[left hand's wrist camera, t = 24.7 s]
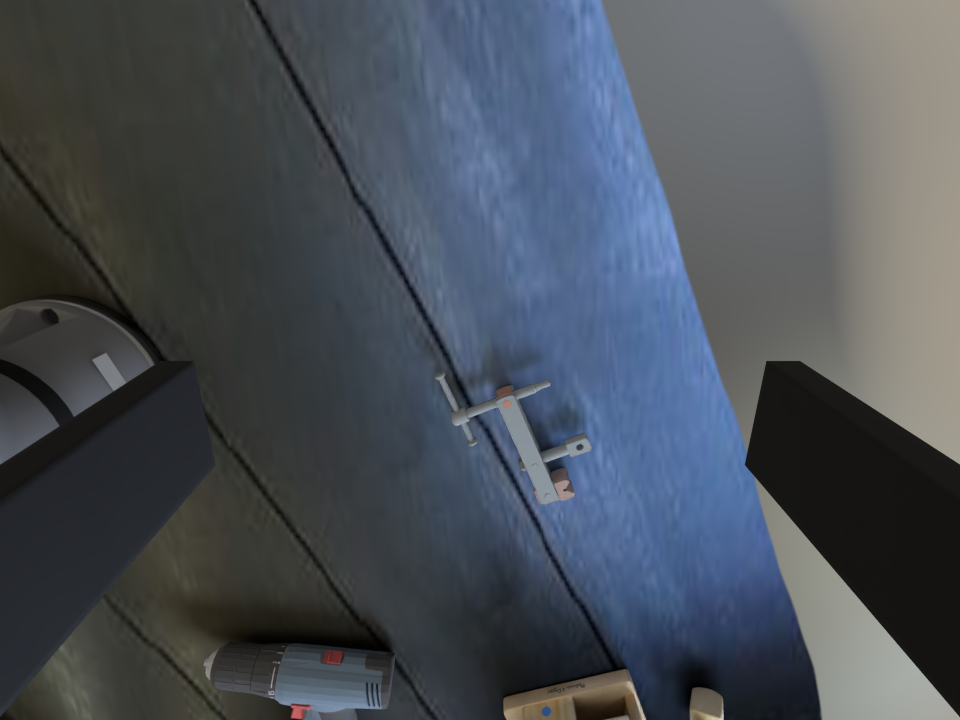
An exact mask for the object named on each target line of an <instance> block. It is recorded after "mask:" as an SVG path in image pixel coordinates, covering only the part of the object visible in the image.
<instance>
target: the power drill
mask: <svg viewBox="0 0 960 720" xmlns="http://www.w3.org/2000/svg"><path fill="white" fill-rule="evenodd" d="M394 663H395V653H391V652H382V651H380V652H379V651H371V650H362V649H352V648H342V647H332V646H322V645H312V644H302V643H292V644H287V643H274V644H256V643H249V642H247V643H243V642H229V643H228V644H226V645H224V646H223V647H221V648H219V649H218V650H216V651H214V652H213V653H212V654H211V656H210V657H208V659H206V660H205V662H204V666H205V668H204V669H206V676H207V677H208V678H209V680H210V681H211V682H212V684H213V685H214V686H215V688H217V689H221V690H228V691H235V692H245V693H251V694H255V695H259V696H263V697H267V698H274V699H276V701H278V702H279V703H280V704H283V705H289V706H291V707H292V708H293V710H292V713H291V718H295V719H302V720H358V719H357V714H356V711H355V708H362V709H386V708H388V704H389V697H390V692H391V685H392V678H393V671H394Z"/></svg>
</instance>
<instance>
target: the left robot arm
mask: <svg viewBox="0 0 960 720" xmlns="http://www.w3.org/2000/svg"><path fill="white" fill-rule="evenodd" d="M214 466H215V462H214V457H213V452H212V448H211V443H210V438H209V433H208V428H207V424H206V419H205V414H204V409H203V404H202V400H201V395H200V390H199V385H198V380H197V376H196V371H195V366H194V361H163V360H162V358H161V356H160V355H159V353H158V352H157V350H156V349H155V347H154V346H153V345H152V343H151V342H150V341H149V340H148V339H147V338H146V336H145V335H144V334H143V333H142V332H141V331H140V330H139V329H137V328H136V327H135V326H134V325H133V324H132V323H130V322H129V321H128V320H126V319H125V318H123V317H122V316H120V315H119V314H117V313H116V312H114V311H112V310H110V309H108V308H106V307H104V306H102V305H100V304H97V303H94V302H92V301H88V300H85V299H81V298H76V297H71V296H62V295H51V296H41V297H36V298H32V299H29V300H26V301H23V302H20V303H16V304H13V305H10V306H8V307H6V308H4V309H2V310H0V717H1V715H2V714H3V713H4V712H5V711H6V710H7V708H8V707H9V706H10V705H11V704H12V702H13V701H14V700H15V699H16V698H17V697H18V695H19V694H20V693H21V692H22V691H23V690H24V688H25V687H26V686H27V685H28V684H29V683H30V681H31V680H32V679H33V678H34V677H35V676H36V674H37V673H38V672H39V671H40V670H41V668H42V667H43V666H44V665H45V664H46V663H47V661H48V660H49V659H50V658H51V657H52V656H53V654H54V653H55V652H56V651H57V650H58V649H59V647H60V646H61V645H62V644H63V643H64V641H65V640H66V639H67V638H68V637H69V636H70V634H71V633H72V632H73V631H74V630H75V629H76V627H77V626H78V625H79V624H80V623H81V622H82V620H83V619H84V618H85V617H86V616H87V615H88V613H89V612H90V611H91V610H92V609H93V607H94V606H95V605H96V604H97V603H98V602H99V600H100V599H101V598H102V597H103V596H104V595H105V593H106V592H107V591H108V590H109V589H110V588H111V586H112V585H113V584H114V583H115V582H116V581H117V579H118V578H119V577H120V576H121V575H122V573H123V572H124V571H125V570H126V569H127V568H128V566H129V565H130V564H131V563H132V562H133V561H134V559H135V558H136V557H137V556H138V555H139V554H140V552H141V551H142V550H143V549H144V548H145V546H146V545H147V544H148V543H149V542H150V541H151V539H152V538H153V537H154V536H155V535H156V534H157V532H158V531H159V530H160V529H161V528H162V527H163V525H164V524H165V523H166V522H167V521H168V520H169V518H170V517H171V516H172V515H173V514H174V512H175V511H176V510H177V509H178V508H179V507H180V505H181V504H182V503H183V502H184V501H185V500H186V498H187V497H188V496H189V495H190V494H191V493H192V491H193V490H194V489H195V488H196V487H197V486H198V484H199V483H200V482H201V481H202V480H203V478H204V477H205V476H206V475H207V474H208V473H209V471H210V470H211V469H212V468H213V467H214ZM745 466H746V467H747V468H748V469H749V470H750V471H751V473H752V474H753V475H754V476H755V477H756V478H757V480H758V481H759V482H760V483H761V484H762V485H763V487H764V488H765V489H766V490H767V491H768V493H769V494H770V495H771V496H772V497H773V498H774V500H775V501H776V502H777V503H778V504H779V505H780V507H781V508H782V509H783V510H784V511H785V512H786V514H787V515H788V516H789V517H790V518H791V520H792V521H793V522H794V523H795V524H796V525H797V527H798V528H799V529H800V530H801V531H802V532H803V534H804V535H805V536H806V537H807V538H808V539H809V541H810V542H811V543H812V544H813V545H814V547H815V548H816V549H817V550H818V551H819V552H820V554H821V555H822V556H823V557H824V558H825V559H826V561H827V562H828V563H829V564H830V565H831V566H832V568H833V569H834V570H835V571H836V572H837V573H838V575H839V576H840V577H841V578H842V579H843V581H844V582H845V583H846V584H847V585H848V586H849V587H850V589H851V590H852V591H853V592H854V593H855V595H856V596H857V597H858V598H859V599H860V600H861V602H862V603H863V604H864V605H865V606H866V607H867V609H868V610H869V611H870V612H871V613H872V615H873V616H874V617H875V618H876V619H877V620H878V622H879V623H880V624H881V625H882V626H883V627H884V629H885V630H886V631H887V632H888V633H889V634H890V636H891V637H892V638H893V639H894V640H895V641H896V643H897V644H898V645H899V646H900V647H901V649H902V650H903V651H904V652H905V653H906V654H907V656H908V657H909V658H910V659H911V660H912V661H913V663H914V664H915V665H916V666H917V667H918V668H919V670H920V671H921V672H922V673H923V674H924V675H925V677H926V678H927V679H928V680H929V681H930V683H931V684H932V685H933V686H934V687H935V688H936V690H937V691H938V692H939V693H940V694H941V695H942V697H943V698H944V699H945V700H946V701H947V702H948V704H949V705H950V706H951V707H952V708H953V709H954V711H955V712H956V713H957V714H958V715H959V717H960V464H958V463H957V462H955V461H954V460H952V459H950V458H949V457H947V456H946V455H944V454H943V453H941V452H940V451H938V450H936V449H935V448H933V447H932V446H930V445H929V444H927V443H926V442H924V441H923V440H921V439H919V438H918V437H916V436H915V435H913V434H912V433H910V432H909V431H907V430H906V429H904V428H902V427H901V426H899V425H898V424H896V423H895V422H893V421H892V420H890V419H889V418H887V417H885V416H884V415H882V414H881V413H879V412H878V411H876V410H875V409H873V408H872V407H870V406H868V405H867V404H865V403H864V402H862V401H861V400H859V399H858V398H856V397H855V396H853V395H851V394H850V393H848V392H847V391H845V390H844V389H842V388H841V387H839V386H838V385H836V384H834V383H833V382H831V381H830V380H828V379H827V378H825V377H824V376H822V375H821V374H819V373H817V372H816V371H814V370H813V369H811V368H810V367H808V366H807V365H805V364H804V363H802V362H800V361H766V366H765V371H764V376H763V380H762V385H761V390H760V395H759V400H758V404H757V409H756V414H755V419H754V424H753V428H752V433H751V438H750V443H749V448H748V452H747V457H746V462H745Z"/></svg>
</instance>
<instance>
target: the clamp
mask: <svg viewBox="0 0 960 720" xmlns="http://www.w3.org/2000/svg"><path fill="white" fill-rule="evenodd" d="M444 376H445V372H443V371H442V372H438V373H437V374H435V376H434V378H435V379H436V380H439V382H440V384H441V386H442V388H443V390H444V392H445V394H446V396H447V398H448V400H449V402H450V404H451V406H452V408H453V410H454V411H452V412H451V413H450V417H451V420H452V422H453V424H454V425H456V426H458V425H460V424H461V426H462V428H463V430H464V432H465V435H466V437H467V439H468V442H467V444H468V446H473V445H475V444H476V443H477V442H478V439H477V438H474V437H473V435H472V433H471V431H470V429H469V427H468V425H467V423H466V422H468V421H470V417H473V416H476V415H478V414H481V413H483V412H486V411H489V410H491V409H494V408H497V407H498V408H499V410H500V412H501V415H502V417H503V419H504V421H505V423H506V426H507V428H508V430H509V432H510V434H511V437H512V439H513V441H514V443H515V445H516V448H517V450H518V452H519V454H520V456H521V458H520V459H519V460H518V461H519V465H520V467H521V470H522V471H523V472H525V471H527V472H528V474H529V476H530V478H531V481H532V483H533V486H534V493H535V495H536V497H537V499H538V501H539V503H541V504H544V505H545V504H548V503H551V502H554V501H557V500H560V499H561V501H564V500H566V499H569V498H572V497H573V496H574V490H573V486H572V483H571V481H570V480H569V478H568V475H567V471H566V469H564V468H560V469H557V470H554V471H551V472H552V474H551V473H550V471H549V468H548V466H547V464H546V462H548V461H551V460H554V459H557V458H560V457H562V456H565V455H568V454H570V456H571V457H574V456H577V455H580V454H582V453H585V452H588V451H591V445H590V443H589V440H588V437H587V436H586V434H585V433H581V434H579V435H576V436H573V437H570V438H568V439H565V440H564V441H565V444H562V445H559V446H557V447H554V448H551V449H548V450H546V451H543V452H541V450H540V448H539V445H538V443H537V441H536V439H535V436H534V434H533V432H532V429H531V427H530V425H529V423H528V420H527V418H526V416H525V413H524V411H523V409H522V407H521V404H520V402H519V400H518V399H520V398H523V397H526V396H528V395H531V394H534V393H536V391H539V390H540V389H542V388H545V387H548V386H550V382H549V380H546V381H543V382H541V383H538V384H537V383H536V384H534V385H533V384H531V385H528V386H526V387H523V388H521V389H518V390H515V391H514V388H513V386H512V385H509V386H505V387H503V388H500V389H498V390H497V391H495V394H496V396H497V398H494V399H492V400H489V401H486V402H484V403H481V404H479V405H476V406H473V407H471V408H468V409H467V408H466V407H462V408H459V406H458V404H457V402H456V400H455V398H454V396H453V394H452V392H451V390H450V388H449V386H448V384H447V382H446V380H445V378H444ZM578 444H580V445H578Z"/></svg>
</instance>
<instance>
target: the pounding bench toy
mask: <svg viewBox="0 0 960 720" xmlns="http://www.w3.org/2000/svg"><path fill="white" fill-rule="evenodd" d="M503 705H504V715H505V717H506V719H507V720H646V717H645V714H644V712H643V709H642V706H641V703H640V701H639V698H638V695H637V692H636V690H635V687H634V684H633V682H632V679H631V676H630V674H629V671H628V670H627V669H623V670H618V671H614V672H609V673H605V674H601V675H597V676H592V677H588V678H584V679H579V680H575V681H571V682H566V683H562V684H558V685H554V686H549V687H545V688H541V689H537V690H532V691H528V692H524V693H520V694H515V695H512V696H507V697H505V698H504V699H503ZM689 711H690V720H724V719H723V698H722V696H721V695H720V694H718V693H717V692H715V691H713V690H711V689H707V688H701V687H696V688H693V689H692V694H691V700H690V709H689Z"/></svg>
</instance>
